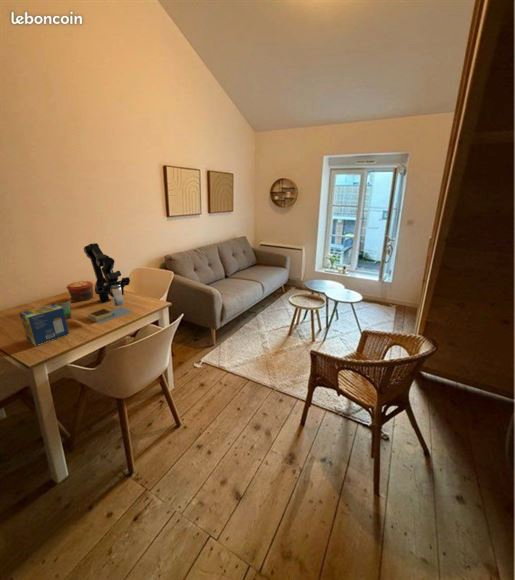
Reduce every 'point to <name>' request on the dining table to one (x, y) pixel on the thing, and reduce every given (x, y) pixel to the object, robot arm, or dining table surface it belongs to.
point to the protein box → (44, 323)
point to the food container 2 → (80, 290)
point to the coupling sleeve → (117, 294)
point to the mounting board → (116, 314)
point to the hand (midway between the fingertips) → (118, 295)
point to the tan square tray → (97, 318)
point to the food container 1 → (65, 308)
